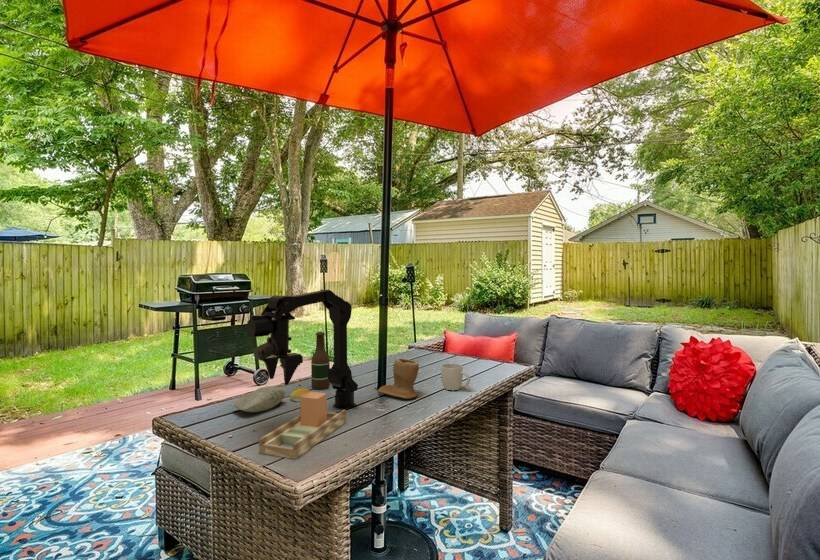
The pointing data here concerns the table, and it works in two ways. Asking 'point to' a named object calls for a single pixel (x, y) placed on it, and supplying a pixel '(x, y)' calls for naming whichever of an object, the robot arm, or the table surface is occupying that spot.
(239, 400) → the rock
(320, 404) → the terracotta block
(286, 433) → the wooden compartment tray
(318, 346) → the beer bottle
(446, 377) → the mug
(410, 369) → the brown boot
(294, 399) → the bread roll
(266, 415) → the table surface
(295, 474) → the table surface
